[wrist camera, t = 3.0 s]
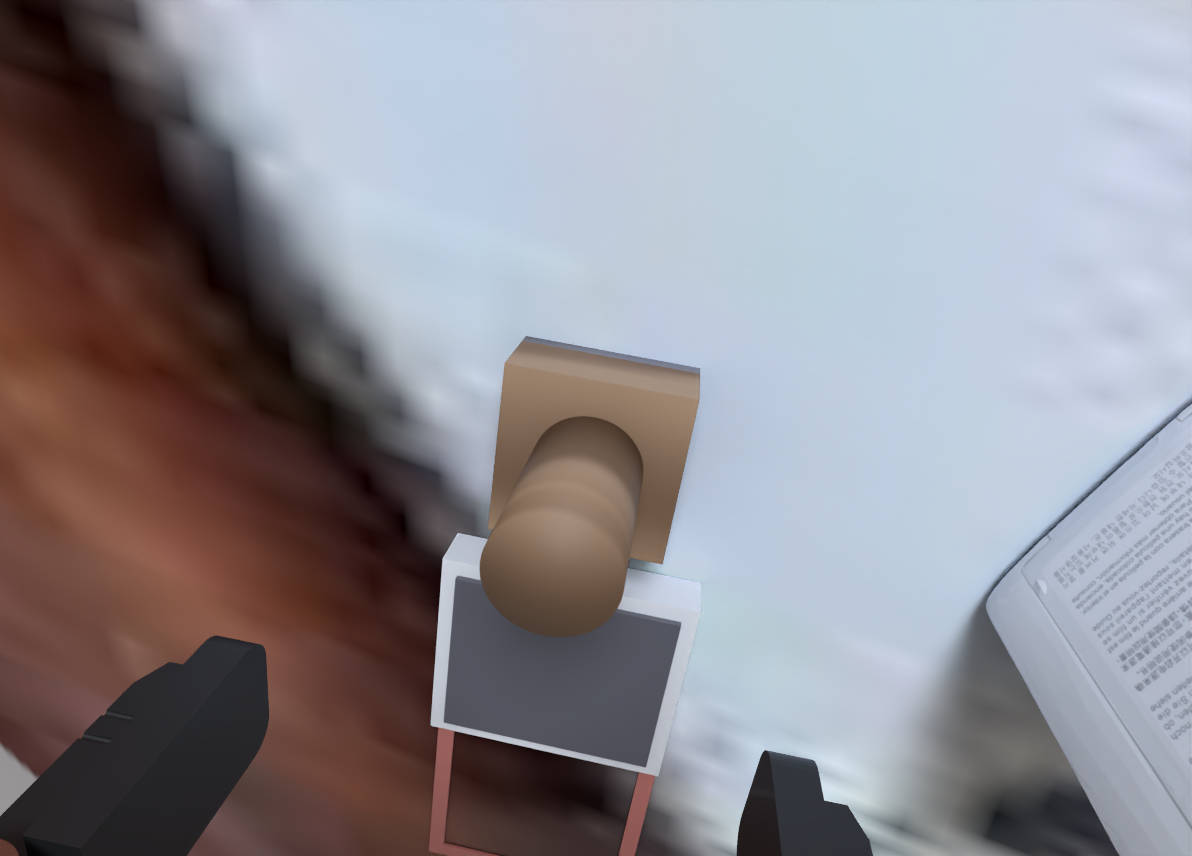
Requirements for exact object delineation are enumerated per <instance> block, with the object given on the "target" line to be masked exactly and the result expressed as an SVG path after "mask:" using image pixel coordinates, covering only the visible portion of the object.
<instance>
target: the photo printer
mask: <svg viewBox="0 0 1192 856" xmlns="http://www.w3.org/2000/svg"><path fill="white" fill-rule="evenodd" d="M986 610H987V613H988V615H989V618H990V620H991V622H992V624H993V626H994V627H995V629H996V631H997V633H998V635H999V636H1000V638H1001V640H1002V642H1003V644H1004V645H1005V647H1006V649H1007V651H1008V653H1009V654H1010V656H1011V658H1012V660H1013V662H1014V663H1015V665H1016V667H1017V669H1018V671H1019V672H1020V674H1021V676H1022V678H1023V680H1024V681H1025V683H1026V685H1027V687H1028V689H1029V691H1030V693H1031V695H1032V696H1033V698H1034V700H1035V701H1036V703H1037V705H1038V707H1039V709H1040V711H1041V713H1042V715H1043V716H1044V718H1045V720H1046V722H1047V724H1048V726H1049V727H1050V729H1051V731H1052V733H1053V735H1054V737H1055V738H1056V740H1057V742H1058V744H1059V746H1060V747H1061V749H1062V751H1063V753H1064V755H1065V757H1066V758H1067V760H1068V762H1069V764H1070V766H1071V767H1072V769H1073V771H1074V773H1075V775H1076V777H1077V779H1078V781H1079V783H1080V784H1081V786H1082V788H1083V789H1084V791H1085V793H1086V795H1087V797H1088V799H1089V801H1090V803H1091V805H1092V806H1093V808H1094V810H1095V812H1096V814H1097V816H1098V817H1099V819H1100V821H1101V823H1102V825H1103V827H1104V828H1105V830H1106V832H1107V834H1108V836H1109V838H1110V840H1111V841H1112V843H1113V845H1114V847H1115V849H1116V850H1117V852H1118V854H1119V856H1192V404H1191V405H1190V406H1188V407H1187V408H1186V409H1185V410H1183V411H1182V412H1181V413H1180V414H1179V415H1178V416H1177V417H1176V418H1175V419H1174V420H1172V421H1171V422H1170V423H1169V424H1168V425H1167V426H1166V427H1165V428H1163V429H1162V430H1161V431H1160V432H1159V433H1158V434H1156V435H1155V436H1154V437H1153V438H1152V439H1151V440H1150V441H1149V442H1147V443H1146V444H1145V445H1144V446H1143V447H1142V448H1141V449H1140V450H1139V451H1138V452H1137V453H1135V454H1134V455H1133V456H1132V457H1131V458H1130V459H1129V460H1128V461H1127V462H1125V463H1124V464H1123V465H1122V466H1121V467H1120V468H1119V469H1118V470H1117V471H1115V472H1114V473H1113V474H1112V475H1111V476H1110V477H1109V478H1108V479H1107V480H1106V481H1104V482H1103V483H1102V484H1101V485H1100V486H1099V487H1098V488H1097V489H1096V490H1095V491H1094V492H1093V493H1091V494H1090V495H1089V496H1088V497H1087V498H1086V499H1085V500H1084V501H1083V502H1082V503H1081V504H1080V505H1079V506H1078V507H1077V508H1075V509H1074V510H1073V511H1072V512H1071V513H1070V514H1069V515H1068V516H1067V517H1066V518H1065V519H1063V520H1062V521H1061V522H1060V523H1059V524H1058V525H1057V526H1056V527H1055V528H1054V529H1053V530H1052V531H1051V532H1050V533H1049V534H1047V535H1046V536H1045V537H1044V538H1042V539H1041V540H1040V541H1039V542H1038V543H1037V544H1036V545H1035V546H1034V547H1033V548H1032V549H1031V550H1030V551H1029V552H1028V553H1027V554H1026V555H1025V556H1024V557H1023V558H1022V559H1021V560H1020V561H1019V562H1018V563H1017V564H1016V565H1015V566H1014V567H1013V568H1012V569H1011V570H1010V571H1009V572H1008V573H1007V574H1006V576H1005V577H1004V578H1003V579H1002V580H1001V581H1000V582H999V584H998V585H997V586H996V587H995V589H994V590H993V591H992V593H991V594H990V596H989V597H988V600H987V602H986Z"/></svg>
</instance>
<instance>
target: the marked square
mask: <svg viewBox="0 0 1192 856" xmlns="http://www.w3.org/2000/svg"><path fill="white" fill-rule="evenodd" d="M454 733H455V731H452V730H448V729H443V728H439V727H438V740H437V753H436V765H435V778H434V790H433V803H432V816H431V828H430V841H429V851H430V852H434V853H438V854H443V855H447V856H500V855H495V854H491V853H487V852H482V851H478V850H474V849H470V848H465V847H461V846H457V845H452V844H448V843H444V842H445V831H446V820H447V809H448V798H449V788H450V777H451V766H452V755H453V744H454ZM654 779H655V776H654V775H650V774H645V773H641V772H639V773H638V777H637V781H636V785H635V790H634V794H633V798H632V802H631V806H630V810H629V814H628V818H627V822H626V826H625V831H624V835H623V839H622V843H621V847H620V851H619V855H618V856H635V852H636V848H637V844H638V841H639V837H640V833H641V829H642V825H643V821H644V817H645V813H646V810H647V806H648V802H649V798H650V794H651V790H652V786H653V782H654Z"/></svg>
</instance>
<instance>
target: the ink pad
mask: <svg viewBox="0 0 1192 856" xmlns="http://www.w3.org/2000/svg"><path fill="white" fill-rule="evenodd" d="M487 540H488V539H485V538H480V537H475V536H470V535H465V534H460V533H457V535H456V537H455V539H454V540H453V542H452V544H451V545H450V547H449V549H448V551H447V552H446V554H445V556H444V557H443V562H442V575H441V589H440V603H439V616H438V630H437V644H436V657H435V671H434V685H433V699H432V712H431V726H434V727H439V728H443V729H448V730H452V731H457V732H461V733H466V734H470V735H475V736H479V737H484V738H488V739H493V740H497V741H502V742H506V743H511V744H515V745H520V746H524V747H529V748H533V749H538V750H542V751H547V752H551V753H556V754H560V755H564V756H569V757H573V758H578V759H582V760H587V761H591V762H596V763H600V764H605V765H609V766H614V767H618V768H623V769H627V770H632V771H636V772H641V773H645V774H650V775H654V776H659V772H660V768H661V764H662V760H663V757H664V753H665V749H666V745H667V741H668V737H669V733H670V730H671V726H672V722H673V718H674V714H675V710H676V707H677V703H678V699H679V695H680V691H681V687H682V684H683V680H684V676H685V672H686V668H687V664H688V661H689V657H690V653H691V649H692V645H693V641H694V638H695V634H696V630H697V626H698V622H699V618H700V615H701V583H699V582H694V581H689V580H684V579H679V578H675V577H670V576H665V575H660V574H655V573H650V572H645V571H640V570H636V569H631V568H628V569H627V575H626V581H625V587H624V593H623V596H622V600H621V602H620V604H619V607H618V608H617V610H616V611H615V613H614V614H613V615H612V616H611V618H610V619H609V620H608V621H606V622H605V623H604V624H603V625H601V626H600V627H598V628H596V629H595V630H592V631H590V632H588V633H585V634H582V635H578V636H572V637H549V636H543V635H539V634H535V633H532V632H529V631H527V630H524V629H522V628H520V627H518V626H517V625H515V624H513V623H512V622H510V621H509V620H508V619H506V618H505V617H504V616H503V615H502V614H501V613H500V612H499V611H498V610H497V609H496V608H495V607H494V606H493V604H492V603H491V602H490V600H489V599H488V597H487V595H486V593H485V591H484V589H483V586H482V582H481V579H480V558H481V554H482V551H483V548H484V546H485V544H486V542H487Z"/></svg>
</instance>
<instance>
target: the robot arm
mask: <svg viewBox="0 0 1192 856" xmlns="http://www.w3.org/2000/svg"><path fill="white" fill-rule="evenodd" d="M268 721H269V703H268V684H267V664H266V652H265V649H264V647H263V646H262V645H260V644H255V643H250V642H245V641H241V640H236V639H231V638H226V637H221V636H213V637H210V638H209V639H207V640H206V641H205V642H204V643H203V644H202V645H201V646H200V647H199V648H198V649H197V650H196V652H195V653H194V654H193V655H192V656H191V657H190V658H189V659H188V660H187V661H186V662H185V663H184V664H183V665H182V664H177V663H172V662H169V663H167V664H165V665H164V666H162V667H160V668H158V669H157V670H155V671H153V672H151V673H150V674H148V675H146V676H145V677H143V678H141V679H139V680H138V681H136V682H134V683H133V684H132V685H131V686H130V687H129V688H128V689H127V690H126V691H125V692H124V693H123V694H122V695H121V696H120V697H119V698H118V699H117V700H116V701H115V702H114V703H113V704H112V705H111V706H110V707H109V708H108V709H107V712H106V714H105V715H104V716H102V715H101V716H100V717H99V718H98V719H97V720H96V721H95V722H94V723H93V724H92V725H91V726H90V727H89V728H88V729H87V730H86V731H85V732H84V735H83V737H82V738H81V739H79V738H78V739H77V740H76V741H75V742H74V743H73V744H72V745H71V746H70V747H69V748H68V749H67V750H66V751H65V752H64V753H63V754H62V755H61V756H60V757H59V758H58V759H57V760H56V761H55V762H54V763H53V764H52V765H51V766H50V767H49V768H48V769H47V770H46V771H45V772H44V773H43V774H42V775H41V776H40V777H39V778H38V779H37V780H36V781H35V782H34V783H33V784H32V785H31V786H30V787H29V788H28V789H27V790H26V791H25V792H24V793H23V794H22V795H21V796H20V797H19V798H18V799H17V800H16V801H15V802H14V803H13V804H12V805H11V806H10V807H9V808H8V809H7V810H6V811H5V812H4V813H3V814H2V815H1V816H0V856H187V854H188V853H189V851H190V850H191V849H192V847H193V846H194V844H195V843H196V841H197V840H198V838H199V837H200V836H201V834H202V833H203V831H204V830H205V828H206V827H207V825H208V824H209V823H210V821H211V820H212V818H213V817H214V815H215V814H216V812H217V811H218V809H219V808H220V807H221V805H222V804H223V802H224V801H225V799H226V798H227V796H228V795H229V794H230V792H231V791H232V789H233V788H234V786H235V785H236V783H237V782H238V781H239V779H240V778H241V776H242V775H243V773H244V772H245V770H246V769H247V768H248V766H249V765H250V763H251V762H252V760H253V759H254V757H255V756H256V754H257V752H258V751H259V749H260V747H261V744H262V742H263V739H264V737H265V734H266V730H267V726H268ZM737 856H873V854H872V850H871V846H870V842H869V839H868V838H867V836H866V834H865V833H864V831H863V830H862V828H861V826H860V825H859V823H858V822H857V820H856V818H855V817H854V815H853V814H852V812H851V811H850V809H849V807H848V806H847V805H843V804H838V803H833V802H828V801H824V798H823V793H822V788H821V782H820V777H819V772H818V768H817V765H816V763H815V761H813V760H810V759H805V758H800V757H795V756H790V755H786V754H781V753H776V752H771V751H766V750H765V751H764V752H763V753H762V755H761V758H760V761H759V764H758V767H757V770H756V773H755V776H754V779H753V783H752V786H751V789H750V792H749V795H748V798H747V801H746V804H745V807H744V810H743V814H742V817H741V821H740V826H739V832H738V841H737Z"/></svg>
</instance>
